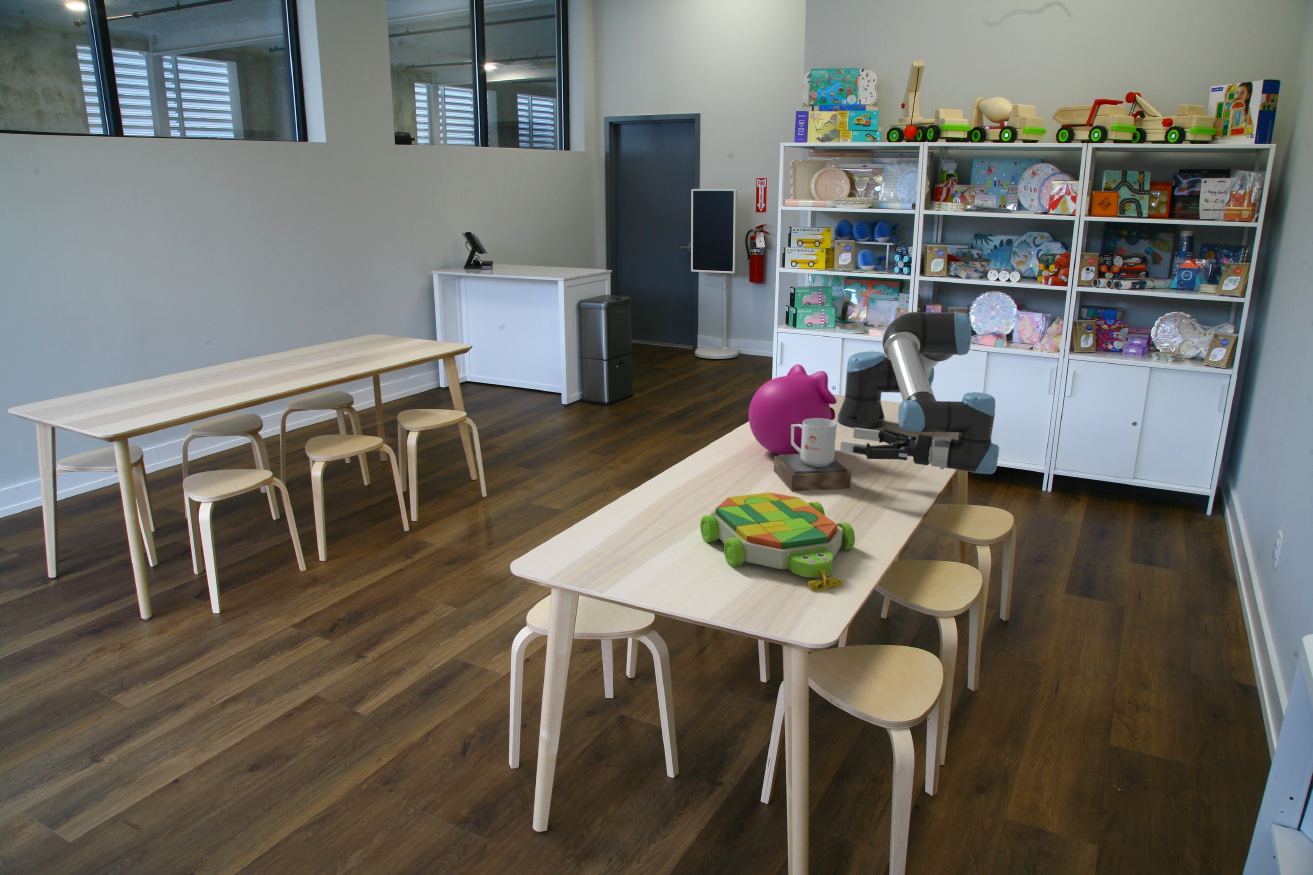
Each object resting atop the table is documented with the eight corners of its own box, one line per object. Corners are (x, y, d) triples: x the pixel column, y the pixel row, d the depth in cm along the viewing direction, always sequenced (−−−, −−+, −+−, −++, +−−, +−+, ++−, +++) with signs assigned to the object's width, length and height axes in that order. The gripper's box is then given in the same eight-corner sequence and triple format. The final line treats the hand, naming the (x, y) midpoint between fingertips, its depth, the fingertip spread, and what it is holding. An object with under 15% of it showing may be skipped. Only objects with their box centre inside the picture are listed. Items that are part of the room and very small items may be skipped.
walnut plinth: (828, 468, 238) (830, 451, 237) (850, 488, 223) (851, 470, 221) (773, 470, 236) (774, 453, 234) (791, 491, 220) (792, 472, 219)
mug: (837, 460, 229) (840, 420, 226) (828, 470, 221) (831, 429, 218) (794, 453, 234) (797, 415, 231) (784, 462, 227) (786, 422, 223)
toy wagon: (764, 602, 163) (766, 567, 161) (690, 529, 197) (690, 499, 195) (893, 580, 173) (896, 546, 171) (801, 514, 207) (803, 485, 204)
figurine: (846, 457, 248) (853, 373, 240) (782, 471, 236) (787, 383, 228) (794, 437, 267) (798, 358, 259) (732, 448, 255) (735, 366, 247)
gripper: (921, 480, 203) (834, 466, 212) (938, 451, 225) (858, 440, 233) (924, 450, 201) (836, 437, 210) (941, 424, 222) (860, 414, 231)
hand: (847, 439), depth 222 cm, fingers open, 13 cm apart
